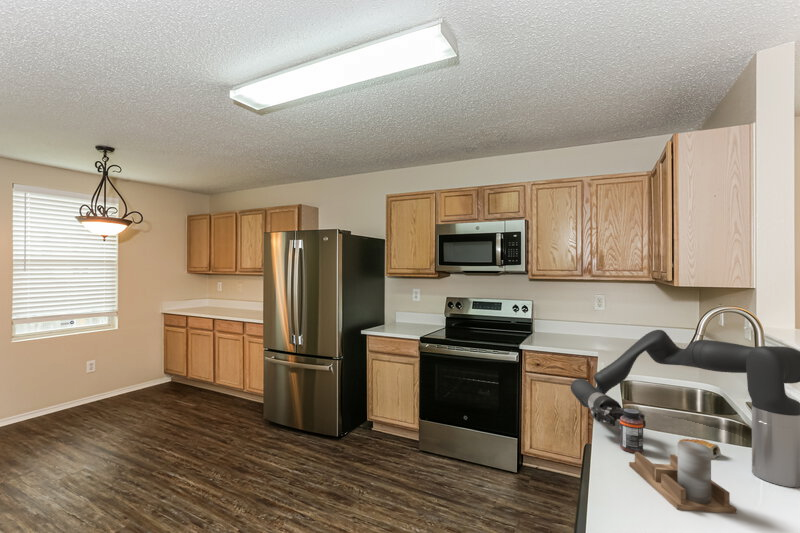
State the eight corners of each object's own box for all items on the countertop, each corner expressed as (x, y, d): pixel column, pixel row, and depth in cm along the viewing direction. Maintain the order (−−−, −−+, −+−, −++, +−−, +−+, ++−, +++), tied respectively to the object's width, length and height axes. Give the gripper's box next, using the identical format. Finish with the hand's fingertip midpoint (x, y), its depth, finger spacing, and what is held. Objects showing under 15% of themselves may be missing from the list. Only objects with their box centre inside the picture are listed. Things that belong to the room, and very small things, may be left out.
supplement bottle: (621, 443, 119) (621, 405, 119) (644, 449, 115) (644, 410, 115) (617, 449, 114) (617, 410, 114) (641, 456, 110) (641, 415, 111)
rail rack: (676, 468, 103) (676, 422, 104) (736, 513, 83) (736, 456, 84) (629, 465, 104) (629, 420, 104) (677, 509, 84) (677, 452, 84)
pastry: (674, 447, 117) (674, 435, 118) (686, 444, 121) (686, 431, 121) (711, 461, 109) (711, 447, 109) (723, 456, 112) (723, 443, 113)
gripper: (582, 394, 133) (604, 409, 117) (626, 396, 132) (654, 412, 116) (582, 416, 133) (603, 435, 116) (625, 418, 132) (653, 437, 115)
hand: (628, 423), depth 116 cm, fingers open, 8 cm apart
